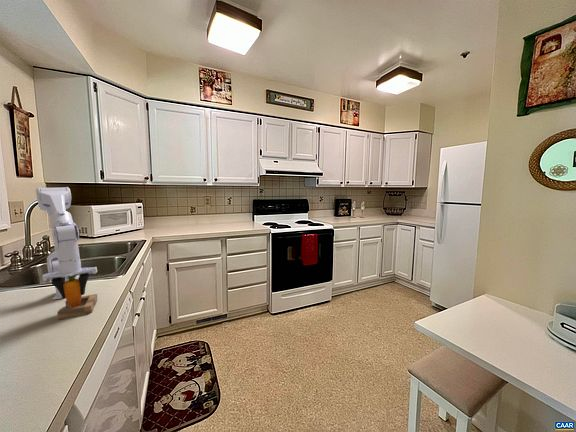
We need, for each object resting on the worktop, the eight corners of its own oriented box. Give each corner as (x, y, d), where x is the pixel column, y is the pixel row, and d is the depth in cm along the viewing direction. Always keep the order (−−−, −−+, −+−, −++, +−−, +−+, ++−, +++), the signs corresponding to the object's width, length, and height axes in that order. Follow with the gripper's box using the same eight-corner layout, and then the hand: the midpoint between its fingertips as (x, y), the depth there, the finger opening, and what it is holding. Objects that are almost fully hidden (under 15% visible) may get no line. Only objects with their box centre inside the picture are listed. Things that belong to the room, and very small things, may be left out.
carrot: (82, 305, 93) (77, 266, 91) (86, 309, 90) (81, 269, 88) (65, 310, 89) (59, 270, 87) (68, 315, 86) (62, 273, 84)
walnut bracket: (67, 305, 93) (66, 299, 92) (97, 299, 97) (96, 293, 97) (58, 319, 83) (57, 312, 83) (91, 312, 87) (91, 305, 87)
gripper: (36, 265, 80) (42, 305, 82) (92, 258, 87) (97, 295, 89) (44, 260, 86) (50, 296, 88) (96, 253, 93) (100, 288, 95)
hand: (74, 295), depth 89 cm, fingers closed on carrot, 4 cm apart
